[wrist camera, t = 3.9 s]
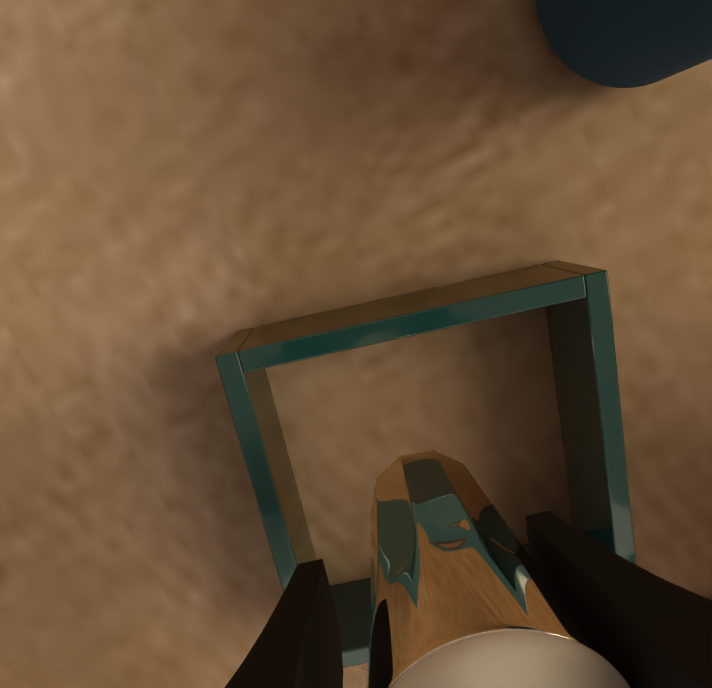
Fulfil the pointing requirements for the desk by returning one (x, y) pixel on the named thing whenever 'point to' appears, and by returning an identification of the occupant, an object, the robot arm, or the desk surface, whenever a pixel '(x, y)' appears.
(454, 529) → the milkshake
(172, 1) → the desk surface
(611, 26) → the soda can
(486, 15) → the desk surface
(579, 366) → the holder
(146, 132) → the desk surface
